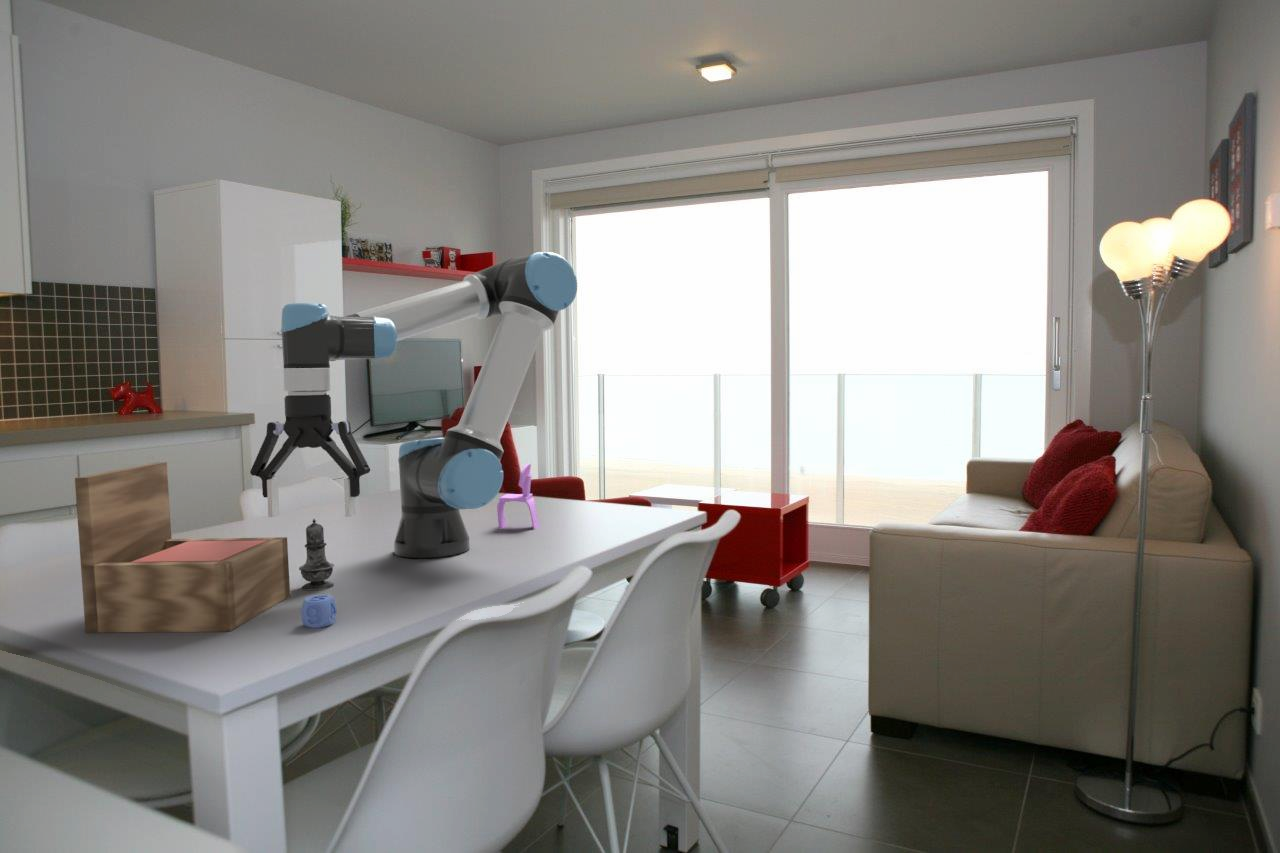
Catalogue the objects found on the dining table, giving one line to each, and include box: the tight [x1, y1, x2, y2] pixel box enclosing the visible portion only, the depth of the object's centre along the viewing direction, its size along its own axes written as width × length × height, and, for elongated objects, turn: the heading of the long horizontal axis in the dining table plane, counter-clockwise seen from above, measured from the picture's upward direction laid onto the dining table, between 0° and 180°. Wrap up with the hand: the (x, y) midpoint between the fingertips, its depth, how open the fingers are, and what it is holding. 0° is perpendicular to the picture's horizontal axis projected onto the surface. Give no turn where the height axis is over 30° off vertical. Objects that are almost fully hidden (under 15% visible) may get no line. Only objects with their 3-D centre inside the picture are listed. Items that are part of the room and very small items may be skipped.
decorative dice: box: [301, 594, 337, 629], centre depth 136 cm, size 4×4×4 cm
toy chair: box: [496, 462, 541, 531], centre depth 213 cm, size 8×9×15 cm
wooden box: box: [74, 461, 291, 633], centre depth 143 cm, size 22×20×23 cm
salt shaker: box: [298, 518, 335, 591], centre depth 159 cm, size 6×6×12 cm
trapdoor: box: [131, 540, 268, 563], centre depth 143 cm, size 14×15×1 cm
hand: (312, 516), depth 159 cm, fingers open, 13 cm apart
